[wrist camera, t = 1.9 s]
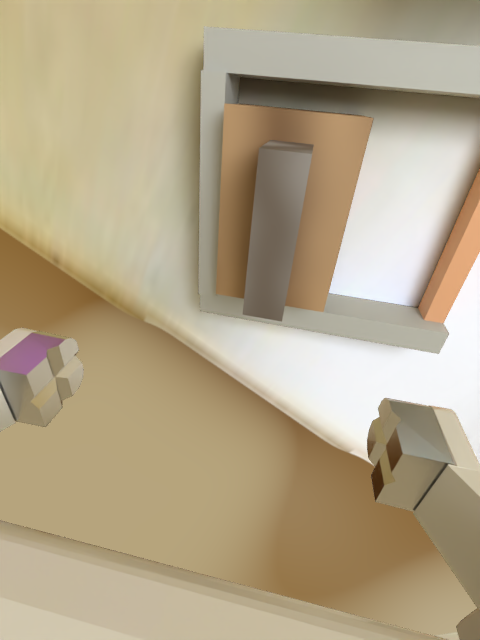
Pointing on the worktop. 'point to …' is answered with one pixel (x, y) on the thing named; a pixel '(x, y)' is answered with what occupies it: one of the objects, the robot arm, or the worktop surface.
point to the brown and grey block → (285, 204)
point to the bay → (352, 71)
